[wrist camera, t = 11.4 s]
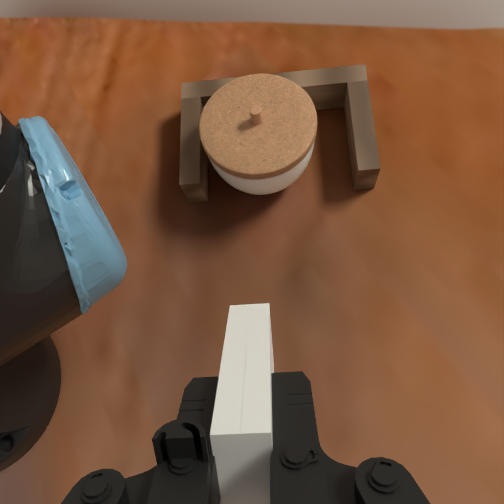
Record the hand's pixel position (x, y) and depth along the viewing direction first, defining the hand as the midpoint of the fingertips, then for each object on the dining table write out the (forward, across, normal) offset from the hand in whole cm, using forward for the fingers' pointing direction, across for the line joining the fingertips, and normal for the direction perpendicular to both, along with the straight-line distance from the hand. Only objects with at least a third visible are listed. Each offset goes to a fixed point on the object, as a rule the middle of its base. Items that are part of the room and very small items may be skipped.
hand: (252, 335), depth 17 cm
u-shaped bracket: (+34, +2, +3) cm, 34 cm away
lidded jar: (+32, 0, 0) cm, 32 cm away
